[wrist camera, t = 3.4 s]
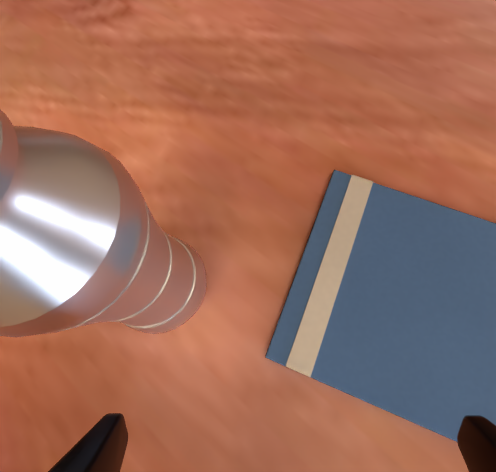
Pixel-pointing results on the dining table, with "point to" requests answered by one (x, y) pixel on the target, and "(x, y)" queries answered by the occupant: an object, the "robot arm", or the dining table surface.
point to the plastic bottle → (84, 242)
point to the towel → (395, 305)
